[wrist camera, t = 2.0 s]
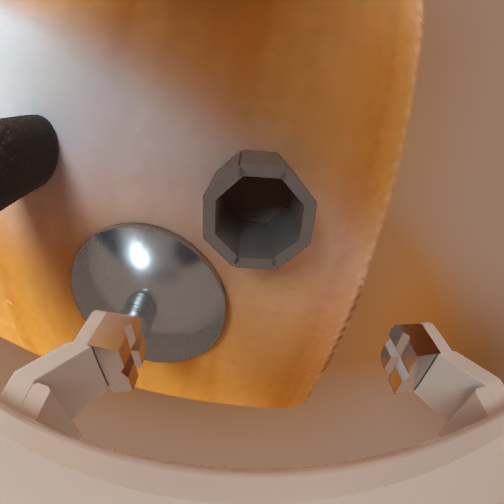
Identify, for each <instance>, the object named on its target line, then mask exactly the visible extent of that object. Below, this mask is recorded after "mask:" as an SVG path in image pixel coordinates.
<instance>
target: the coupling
mask: <svg viewBox="0 0 504 504" xmlns="http://www.w3.org/2000/svg"><path fill="white" fill-rule="evenodd" d="M243 176H251V177H266V178H278V179H282V180H283V181H284V182H285V183H286V185H287V186H288V187H289V195H288V204H287V208H285V209H284V210H283V211H282V212H280V213H279V214H278V215H277V216H275V217H274V218H273V219H272V220H270V221H269V222H268V223H257V222H241V221H240V220H239V219H238V218H237V217H236V216H235V215H234V214H233V213H232V212H231V211H230V210H229V209H228V208H227V206H226V205H225V204H224V203H223V196H224V192H226V191H227V190H228V189H229V188H230V187H231V186H232V185H234V184H235V183H236V182H237V181H238V180H239V179H241V178H242V177H243ZM316 205H317V203H316V201H315V199H314V198H313V196H312V195H311V194H310V192H309V191H308V190H307V188H306V187H305V186H304V184H303V183H302V182H301V180H300V179H299V178H298V177H297V175H296V174H295V173H294V172H293V171H292V169H291V168H290V167H289V166H288V165H287V163H286V162H285V161H284V160H283V159H282V158H281V156H280V155H279V154H277V153H274V152H262V151H247V150H243V151H242V152H241V151H240V152H239V153H238V154H236V155H235V156H234V157H233V158H232V159H231V160H230V161H228V162H227V163H226V164H225V165H224V166H223V167H222V168H221V169H219V170H218V171H217V172H216V173H215V175H214V177H213V179H212V181H211V182H210V184H209V186H208V188H207V190H206V192H205V193H204V196H203V237H204V239H205V240H206V241H207V242H208V243H209V244H210V245H211V246H212V247H213V248H214V249H215V250H216V251H217V252H218V253H219V254H220V255H221V256H222V257H223V258H224V259H225V260H226V261H228V262H229V263H230V264H231V265H232V266H234V265H235V267H239V268H257V269H275V267H276V268H279V267H280V266H281V265H283V264H284V263H286V262H287V261H288V260H290V259H291V258H292V257H294V256H295V255H296V254H298V253H299V252H300V251H302V250H303V249H304V248H306V247H307V246H308V245H309V244H308V243H310V242H311V236H312V230H313V224H314V218H315V211H316Z"/></svg>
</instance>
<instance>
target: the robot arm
mask: <svg viewBox="0 0 504 504" xmlns="http://www.w3.org/2000/svg"><path fill="white" fill-rule="evenodd" d="M140 329H141V322H140V318H139V317H137V316H132V315H126V314H120V313H114V312H106V311H100V310H95V311H93V312H92V313H91V315H90V316H89V318H88V319H87V321H86V322H85V324H84V325H83V327H82V328H81V330H80V331H79V333H78V335H77V336H76V338H75V339H74V341H73V342H67V343H65V344H63V345H61V346H60V347H58V348H56V349H54V350H52V351H51V352H49V353H47V354H45V355H43V356H42V357H40V358H38V359H36V360H34V361H33V362H31V363H29V364H27V365H26V366H24V367H22V368H20V369H18V370H16V371H15V372H14V374H13V375H12V377H11V378H10V380H9V382H8V383H7V385H6V386H5V388H4V390H3V391H2V393H1V395H0V504H504V385H503V383H502V382H501V380H500V379H499V378H497V377H496V376H494V375H493V374H491V373H490V372H488V371H486V370H485V369H483V368H481V367H480V366H478V365H477V364H475V363H474V362H472V361H470V360H469V359H467V358H466V357H464V356H462V355H461V354H459V353H457V352H456V351H453V352H452V350H451V349H450V347H449V346H448V345H447V343H446V342H445V340H444V339H443V337H442V336H441V334H440V333H439V332H438V330H437V329H436V327H435V326H434V324H432V323H430V322H425V323H418V324H405V325H395V326H394V327H393V328H392V329H391V332H390V334H389V335H390V338H391V339H390V340H389V341H388V342H387V343H385V345H384V347H383V350H382V353H381V361H382V366H383V368H384V370H385V371H386V372H388V373H389V374H390V376H389V382H390V384H391V387H392V389H393V391H394V394H397V393H404V392H410V391H414V392H415V393H416V394H417V395H418V396H419V397H420V398H421V399H422V400H423V401H425V402H426V403H427V404H428V405H429V406H430V407H431V408H432V409H433V410H434V411H435V412H436V413H437V414H439V415H440V416H441V417H442V418H443V419H444V420H445V421H446V422H447V423H446V424H445V425H444V426H443V427H442V428H441V430H440V431H439V436H440V437H439V438H436V439H433V440H430V441H427V442H424V443H421V444H418V445H415V446H412V447H408V448H404V449H401V450H397V451H393V452H389V453H385V454H381V455H376V456H372V457H367V458H362V459H356V460H351V461H344V462H338V463H330V464H322V465H313V466H301V467H285V468H231V467H215V466H204V465H195V464H186V463H179V462H173V461H166V460H161V459H155V458H150V457H145V456H141V455H136V454H132V453H128V452H124V451H120V450H116V449H112V448H109V447H105V446H102V445H98V444H95V443H92V442H89V441H86V440H83V439H80V438H81V435H82V434H81V431H80V430H79V429H78V427H77V426H76V425H75V423H74V422H73V421H72V419H73V418H74V417H76V416H77V415H78V414H79V413H80V412H82V411H83V410H84V409H85V408H86V407H87V406H89V405H90V404H91V403H92V402H93V401H94V400H95V399H97V398H98V397H99V396H100V395H101V394H102V393H104V392H105V391H106V390H107V389H108V388H109V387H113V388H118V389H124V390H129V391H133V389H134V387H135V384H136V381H137V378H138V372H137V368H138V367H140V366H141V365H142V364H143V361H144V357H145V340H144V337H143V336H142V335H141V334H140V332H139V331H140Z"/></svg>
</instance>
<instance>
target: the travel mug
mask: <svg viewBox="0 0 504 504" xmlns="http://www.w3.org/2000/svg"><path fill="white" fill-rule="evenodd" d="M57 158H58V142H57V137H56V134H55V131H54V129H53V127H52V125H51V124H50V122H49V121H48V120H47V119H45V118H44V117H42V116H39V115H25V116H16V117H8V118H1V119H0V211H1V210H3V209H4V208H6V207H7V206H9V205H11V204H12V203H14V202H15V201H17V200H18V199H20V198H22V197H23V196H25V195H27V194H28V193H30V192H32V191H34V190H35V189H37V188H39V187H40V186H42V185H43V184H45V183H46V182H47V181H48V180H49V178H50V177H51V175H52V174H53V172H54V170H55V167H56V163H57Z"/></svg>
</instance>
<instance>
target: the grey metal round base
mask: <svg viewBox="0 0 504 504" xmlns="http://www.w3.org/2000/svg"><path fill="white" fill-rule="evenodd" d="M71 287H72V292H73V296H74V299H75V302H76V305H77V307H78V309H79V311H80V313H81V314H82V316H83V318H84V319H85V321H87V319H88V318H89V316H90V315H91V313H92V312H93V311H95V310H100V311H106V312H114V313H120V314H126V315H132V316H137V317H139V318H140V322H141V329H140V331H139V332H140V334H141V335H142V336H143V337H144V340H145V357H144V360H148V361H153V362H180V361H184V360H188V359H191V358H194V357H196V356H198V355H200V354H202V353H204V352H205V351H206V350H208V349H209V348H210V347H211V346H212V345H213V344H214V343H215V342H216V340H217V339H218V338H219V336H220V334H221V332H222V329H223V326H224V322H225V313H226V296H225V292H224V287H223V285H222V282H221V279H220V277H219V275H218V274H217V272H216V270H215V268H214V267H213V266H212V264H211V263H210V261H209V260H208V259H207V258H206V257H205V256H204V255H203V254H202V253H201V251H199V250H198V249H197V248H196V247H195V246H194V245H192V244H191V243H190V242H188V241H187V240H185V239H184V238H182V237H181V236H179V235H177V234H175V233H173V232H171V231H169V230H166V229H164V228H161V227H158V226H154V225H150V224H144V223H121V224H116V225H113V226H110V227H107V228H105V229H103V230H101V231H99V232H97V233H96V234H95V235H94V236H93V237H91V238H90V239H89V240H88V241H87V242H86V243H85V244H84V245H83V246H82V248H81V249H80V250H79V252H78V253H77V255H76V257H75V260H74V262H73V265H72V271H71ZM108 390H110V391H113V392H117V393H125V392H127V391H129V390H124V389H118V388H113V387H109V388H108Z"/></svg>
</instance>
